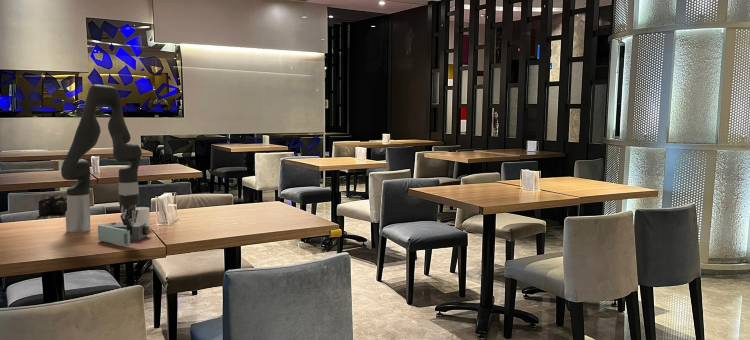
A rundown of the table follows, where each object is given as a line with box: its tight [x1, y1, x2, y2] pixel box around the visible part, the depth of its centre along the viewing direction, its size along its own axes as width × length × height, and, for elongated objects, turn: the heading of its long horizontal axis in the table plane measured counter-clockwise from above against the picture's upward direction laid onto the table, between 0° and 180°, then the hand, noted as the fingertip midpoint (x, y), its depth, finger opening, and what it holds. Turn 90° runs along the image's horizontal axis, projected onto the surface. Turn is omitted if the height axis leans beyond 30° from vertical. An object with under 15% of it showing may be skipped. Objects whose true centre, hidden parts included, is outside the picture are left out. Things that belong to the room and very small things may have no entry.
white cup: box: [135, 206, 151, 227], centre depth 265 cm, size 8×8×10 cm
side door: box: [97, 224, 131, 248], centre depth 233 cm, size 21×2×6 cm, turn 57°
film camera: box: [38, 193, 67, 216], centre depth 307 cm, size 18×12×10 cm
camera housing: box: [104, 222, 150, 242], centre depth 245 cm, size 17×9×7 cm, turn 93°
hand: (130, 234), depth 231 cm, fingers closed
